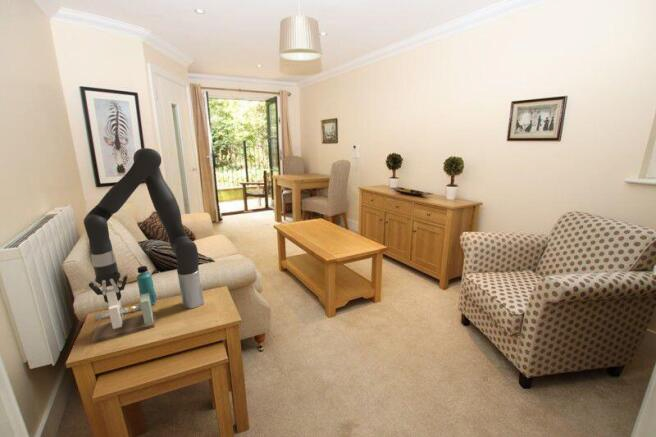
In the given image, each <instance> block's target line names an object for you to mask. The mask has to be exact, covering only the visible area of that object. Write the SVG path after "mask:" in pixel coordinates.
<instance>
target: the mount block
mask: <svg viewBox="0 0 656 437" xmlns="http://www.w3.org/2000/svg"><path fill="white" fill-rule="evenodd" d="M140 297H141V298H140V301H139V305H140V304H141V309H142V310H141V312H142V315H143V318H144V323H145V324H149V323H153V312H154V311H153V306H152V305H153V304H151V300H150V295H149V293H146V294H141V296H140Z"/></svg>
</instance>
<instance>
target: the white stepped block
mask: <svg viewBox="0 0 656 437" xmlns="http://www.w3.org/2000/svg"><path fill="white" fill-rule="evenodd" d="M106 295H107V299H108V303H107V304H108V309H107V310H108V312H109V314H110V323H112V327H113V329H115V328H119V327H122V323H123V320H124V319H125V314H122V315H120V311H119V309H123V306H122V302H121V301H122V300H121V299H120V300H119V301H117V296H116V291H115V289H114V288H113V287H111V288H107V292H106Z"/></svg>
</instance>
